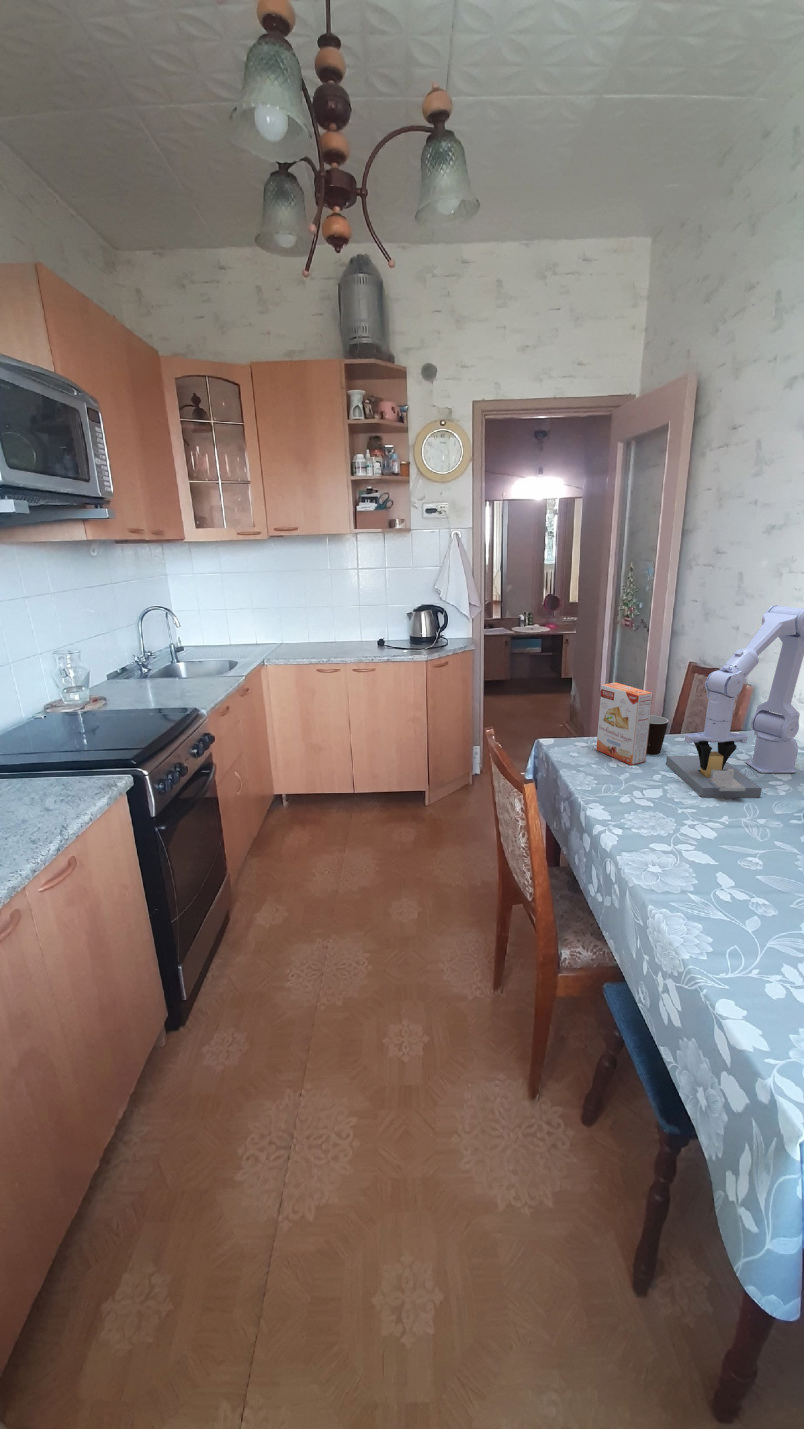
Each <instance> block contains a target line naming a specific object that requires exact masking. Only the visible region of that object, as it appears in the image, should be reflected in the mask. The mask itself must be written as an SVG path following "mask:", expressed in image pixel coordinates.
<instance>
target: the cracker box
mask: <svg viewBox="0 0 804 1429" xmlns="http://www.w3.org/2000/svg"><path fill="white" fill-rule="evenodd" d="M653 694H654V693H653V692H651V691H648V690H644V689H640V688H636V687H633V686H630V685H627V684H623V683H619V682H616V681H615V682H611V683H603V684H601V688H600V701H599V712H598V724H597V725H598V726H597V735H596V736H597V737H596V738H597V739H596V749H595V750H596V751H598V752H600V753H602V754H605V755H606V756H610V757H612V758H614V759H616V760H619V761H621V762H623V763H625V764H627V765H630V766H634V765H638V764H641V763H645V762H646V760H647V758H646V757H647V754H646V752H647V743H648V733H649V724H650V715H652V704H653Z"/></svg>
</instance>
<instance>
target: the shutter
mask: <svg viewBox="0 0 804 1429" xmlns="http://www.w3.org/2000/svg"><path fill="white" fill-rule="evenodd" d="M733 776H734V770H733V769H712V771H711V777H710V778H708V782H710V783H711V784H712V785H713V786H714V787H715V788H717V789H718V790H719V791H745V789H746V788H745V787H744V786H742V785H741V784H740V783H739V782H737V781H736V780H735V779H733Z"/></svg>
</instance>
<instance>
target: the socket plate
mask: <svg viewBox="0 0 804 1429" xmlns="http://www.w3.org/2000/svg"><path fill="white" fill-rule="evenodd" d="M665 763H666V764H665V765H667V766H668V767H669V768H670V769H671V770H672V771H673V772H674V773H675V774H676V775H677V776H678V777H679V778H681V780H682V781H683V782H685V784H687V786H689V787H690V788H691V789H692V790H693V791H694V792H695V793H696V794H698V796H700V797H701V798H761V795H762V790H763V789H762V788H763V787H762V786H760V785H758V784H757V783H756V782H754V781H753V780H751V779H750V778H749V777H747V775H745V774H744V773H742V772H741V771H740V770H738V768H735V766H733V765H731V764H730V763H729V762H728V761H726V763H725V765H724V768H723V769H733V770H734V776H733V779H735V780H736V781H737V782H739V783H740V784H741V785H742V786H744V787H745V788H746V789H745V791H719V790H718V789H717V788H715V787H714V786H713V785H712V784H711V783H710V782H708V778H710V777H705V776H704V775H702V774H701V773H700V770H701V767H700V760H699V755H666V762H665Z"/></svg>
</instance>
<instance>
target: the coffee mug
mask: <svg viewBox="0 0 804 1429" xmlns="http://www.w3.org/2000/svg"><path fill="white" fill-rule="evenodd" d="M668 725H669V719H667V718H666V717H664V716H660V715H659V716H658V715H653V714H651V715H650V724H649V733H648V743H647V752H646V755H649V756H652V755H653V756H657V755H660V754H661V752H662V748H663V745H664V744H663V743H664V740H665V737H666V733H667V728H668ZM659 753H660V754H659Z"/></svg>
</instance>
